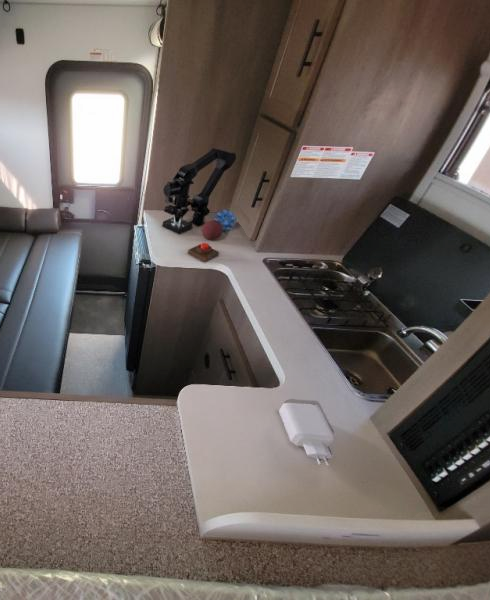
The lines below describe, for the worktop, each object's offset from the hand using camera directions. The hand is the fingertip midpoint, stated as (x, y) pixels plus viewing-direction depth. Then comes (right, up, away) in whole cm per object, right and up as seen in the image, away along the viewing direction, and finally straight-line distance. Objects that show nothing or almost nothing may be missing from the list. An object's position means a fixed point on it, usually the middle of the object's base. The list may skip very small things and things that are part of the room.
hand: (177, 221), depth 176 cm
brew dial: (0, 0, 0) cm, 0 cm away
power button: (+7, -18, -23) cm, 30 cm away
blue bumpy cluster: (+24, -6, -1) cm, 24 cm away
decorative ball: (+15, -11, -8) cm, 20 cm away
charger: (+10, -78, -93) cm, 122 cm away
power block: (+7, -21, -20) cm, 30 cm away
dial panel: (0, -3, +2) cm, 4 cm away
